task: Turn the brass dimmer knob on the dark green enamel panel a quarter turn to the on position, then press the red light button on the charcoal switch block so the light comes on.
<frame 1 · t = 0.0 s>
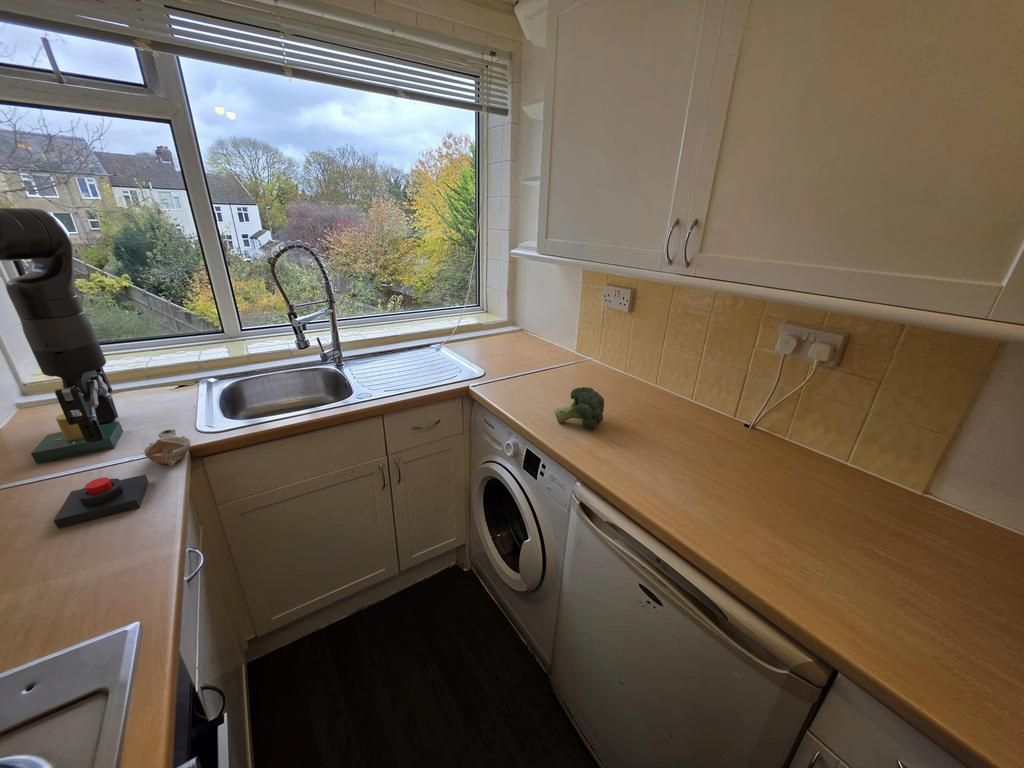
hand: (102, 429, 72), 20 cm above the worktop, tool pointing down, fingers open, 8 cm apart
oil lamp: (172, 457, 100), on the worktop
switch block: (107, 503, 84), on the worktop
travel mug: (101, 421, 114), point 1 cm above the worktop
vegetable: (578, 424, 119), on the worktop
light button: (98, 486, 82), point 4 cm above the worktop, slide at 0.1 cm
dimmer knob: (73, 425, 101), point 6 cm above the worktop, hinge at 0.0°
dimmer panel: (82, 446, 104), on the worktop
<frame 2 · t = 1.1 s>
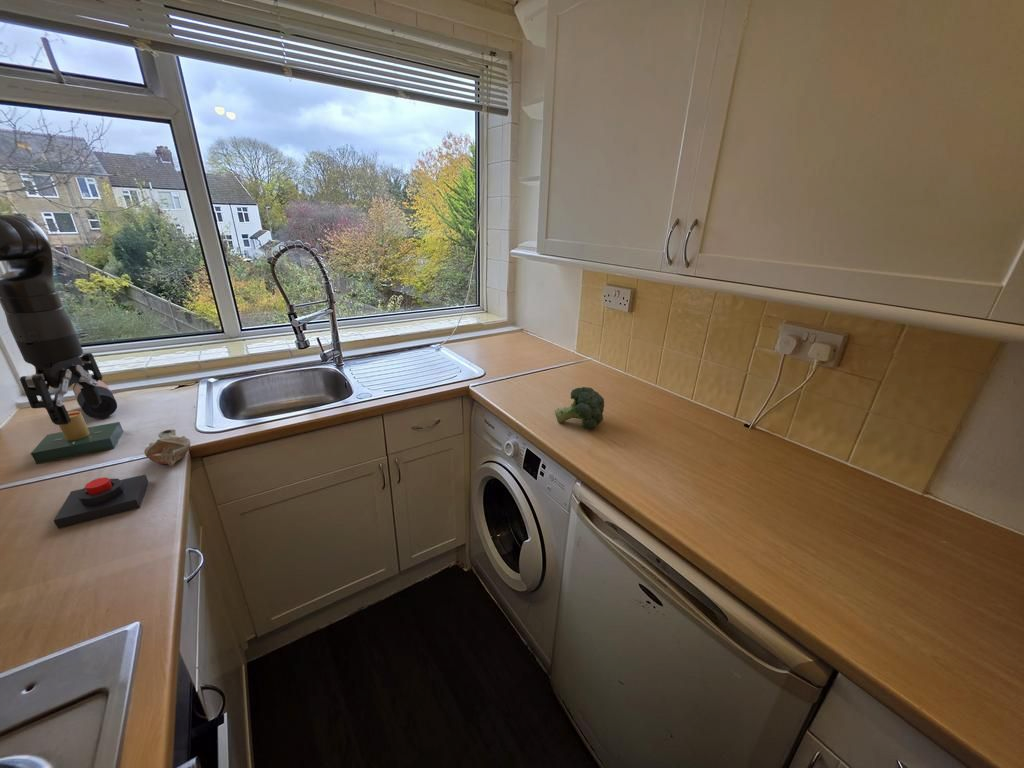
hand: (79, 413, 80), 19 cm above the worktop, tool pointing down, fingers open, 8 cm apart
travel mug: (100, 406, 116), point 4 cm above the worktop
everything else where it was.
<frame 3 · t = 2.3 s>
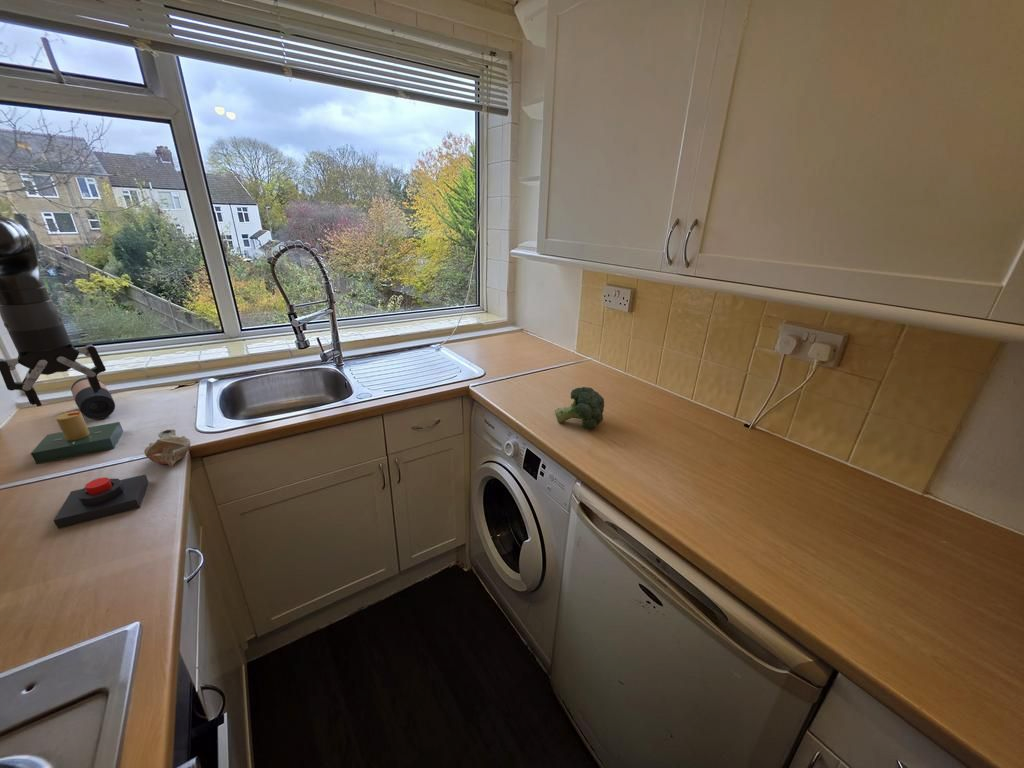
hand: (68, 398, 87), 19 cm above the worktop, tool pointing down, fingers open, 8 cm apart
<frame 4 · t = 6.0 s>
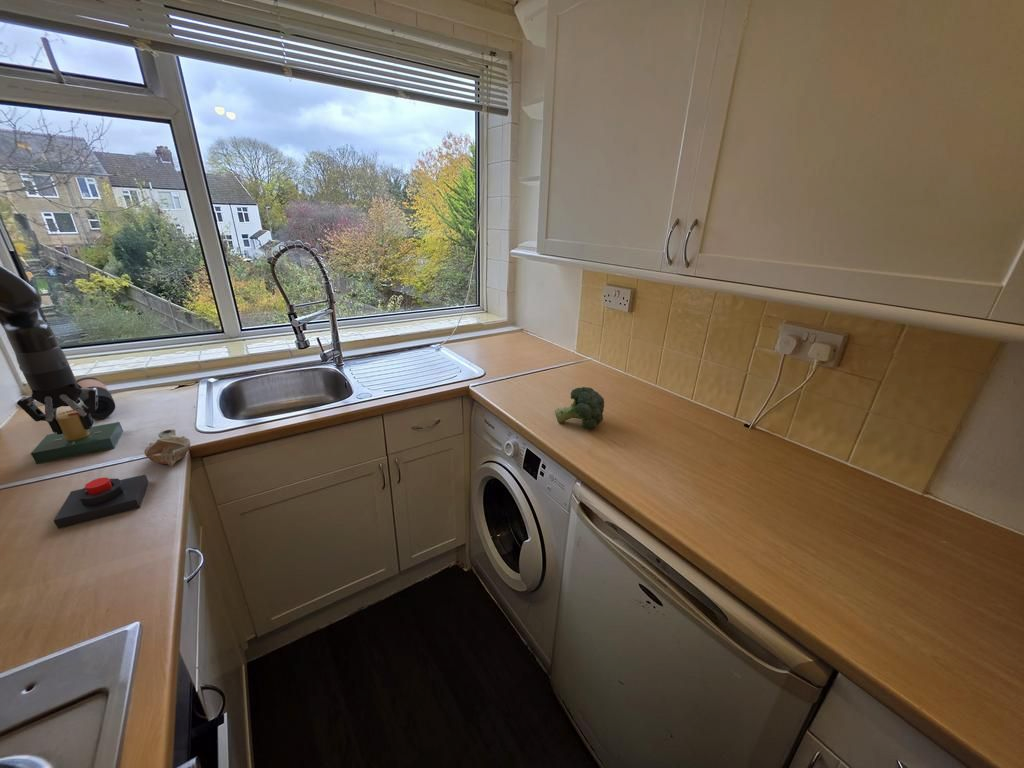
hand: (75, 430, 102), 5 cm above the worktop, tool pointing down, fingers closed on dimmer knob, 4 cm apart
dimmer knob: (73, 425, 101), point 6 cm above the worktop, hinge at 0.0°, touching gripper
everything else where it was.
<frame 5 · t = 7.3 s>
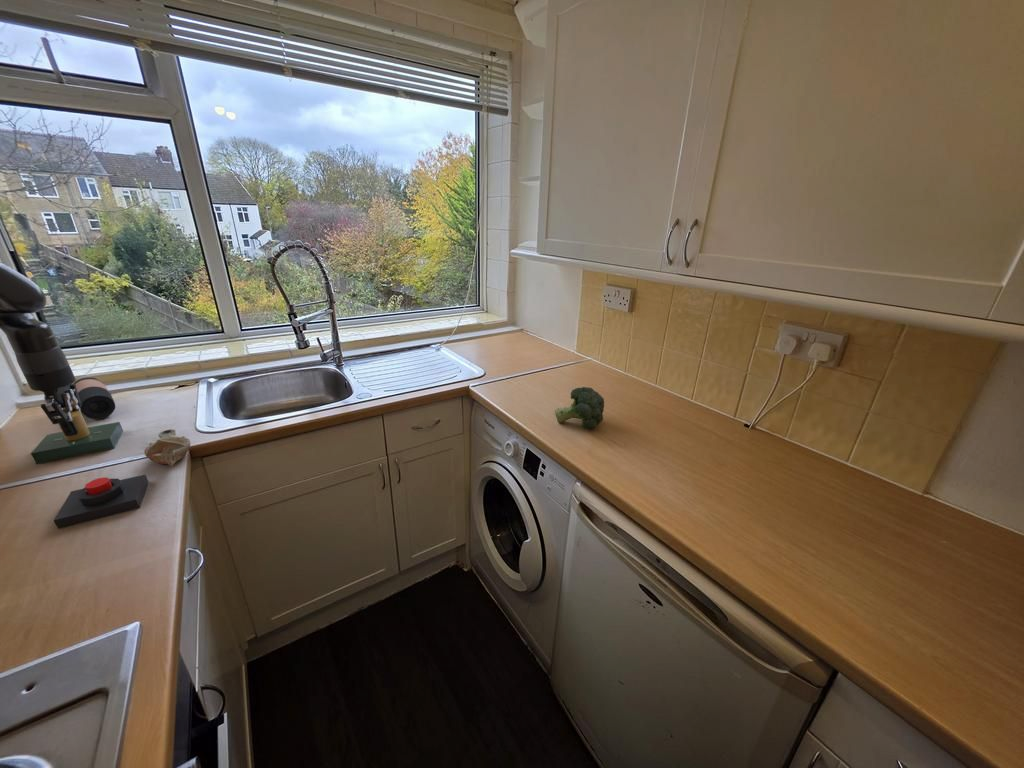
hand: (75, 430, 102), 5 cm above the worktop, tool pointing down, fingers closed on dimmer knob, 4 cm apart
dimmer knob: (73, 425, 101), point 6 cm above the worktop, hinge at 92.8°, touching gripper
everything else where it was.
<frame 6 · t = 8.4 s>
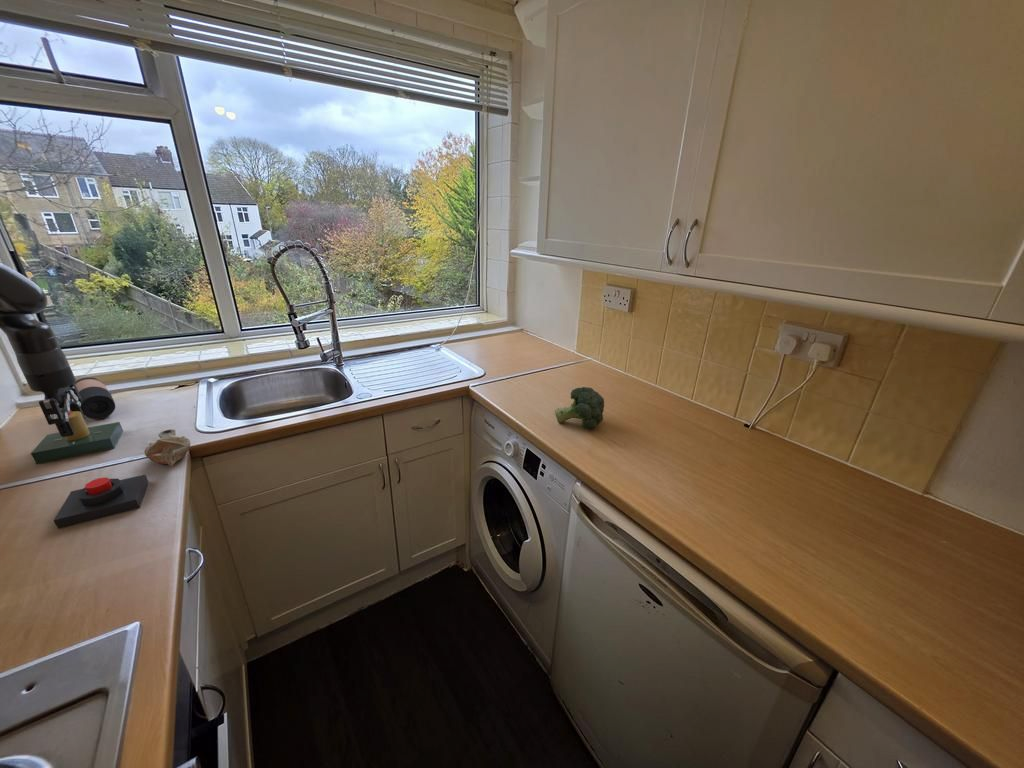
hand: (74, 428, 101), 5 cm above the worktop, tool pointing down, fingers open, 8 cm apart
dimmer knob: (73, 425, 101), point 6 cm above the worktop, hinge at 92.5°
everything else where it was.
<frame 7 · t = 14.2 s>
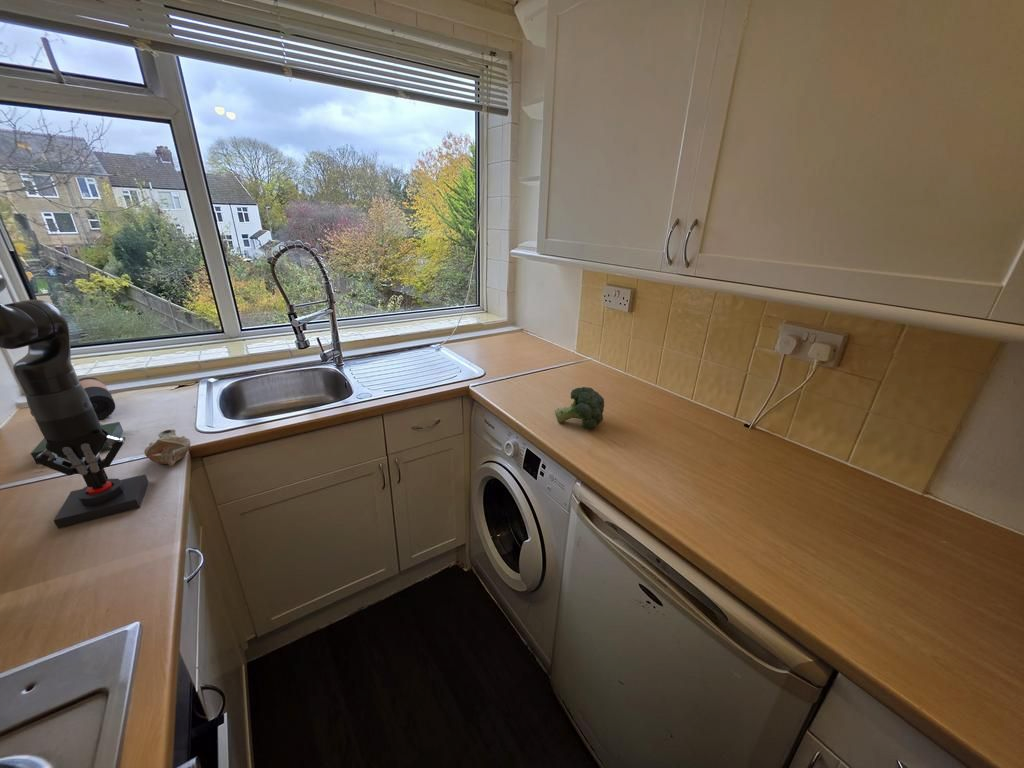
hand: (99, 486, 82), 4 cm above the worktop, tool pointing down, fingers closed
light button: (100, 489, 82), point 4 cm above the worktop, slide at -0.8 cm, touching gripper
everything else where it was.
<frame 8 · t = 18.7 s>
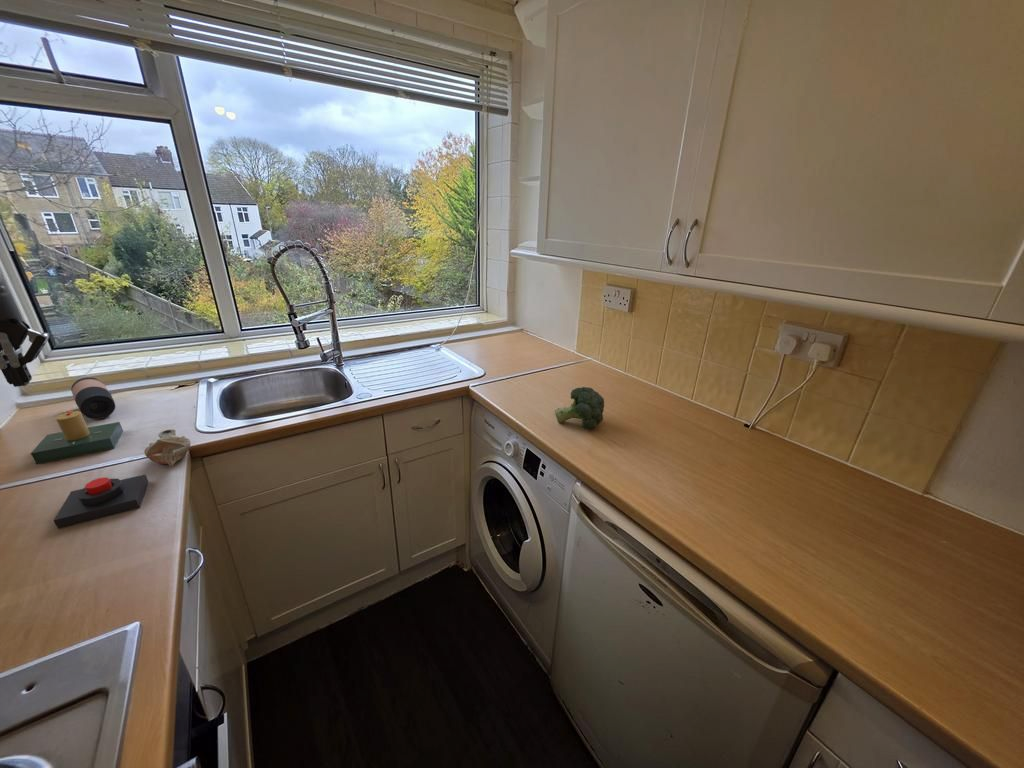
hand: (22, 384, 78), 25 cm above the worktop, tool pointing down, fingers closed
light button: (98, 486, 82), point 4 cm above the worktop, slide at 0.1 cm
everything else where it was.
at the end: dimmer knob at +92° (first picture: +0°); light button pushed in 1.1 cm at the most during the clip, back to where it started at the end; light button slide at 0.1 cm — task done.
